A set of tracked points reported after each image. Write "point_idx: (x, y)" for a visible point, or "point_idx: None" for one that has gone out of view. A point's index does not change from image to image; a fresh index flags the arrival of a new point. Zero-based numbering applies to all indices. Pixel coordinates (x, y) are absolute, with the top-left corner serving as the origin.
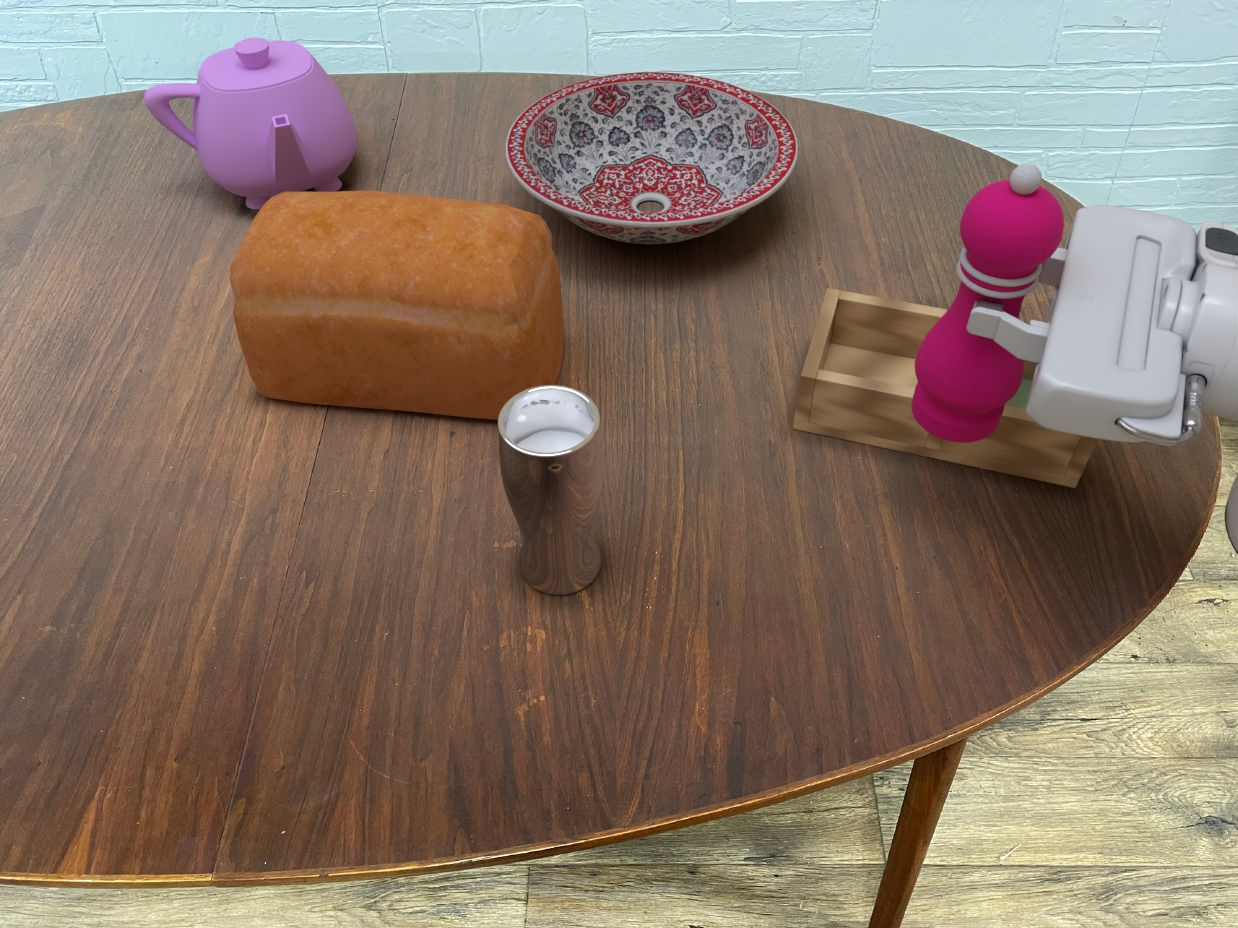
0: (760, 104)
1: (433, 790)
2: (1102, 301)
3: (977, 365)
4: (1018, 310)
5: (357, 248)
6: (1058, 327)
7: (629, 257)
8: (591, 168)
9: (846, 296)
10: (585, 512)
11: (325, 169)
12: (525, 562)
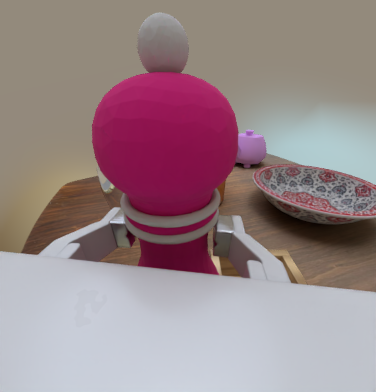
0: None
1: (55, 218)
2: (55, 353)
3: None
4: (153, 261)
5: None
6: (12, 258)
7: (271, 209)
8: (300, 190)
9: (287, 259)
10: (106, 198)
11: (243, 159)
12: None
